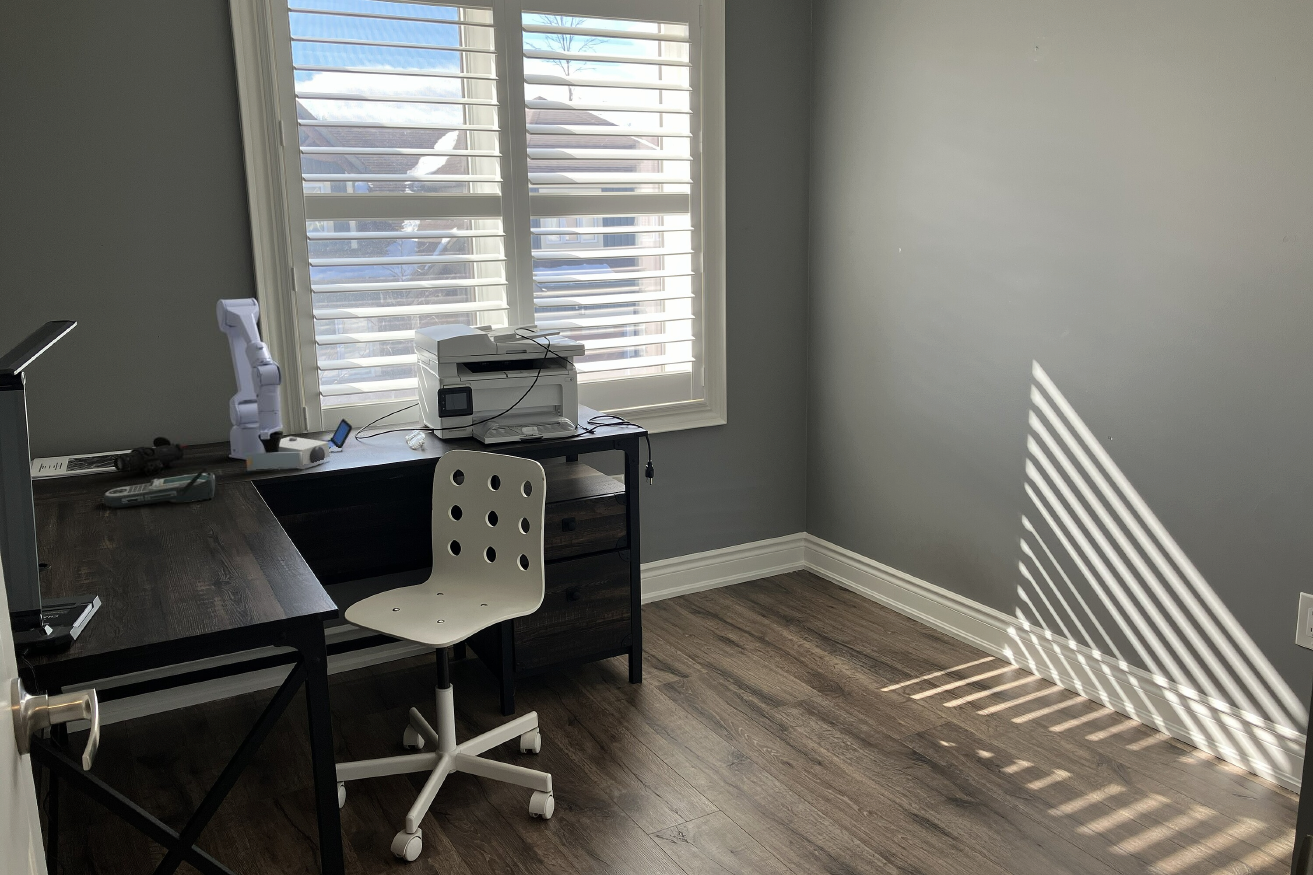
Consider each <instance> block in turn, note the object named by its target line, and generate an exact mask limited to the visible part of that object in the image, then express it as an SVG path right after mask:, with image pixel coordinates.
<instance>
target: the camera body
mask: <svg viewBox="0 0 1313 875" xmlns="http://www.w3.org/2000/svg"><path fill="white" fill-rule="evenodd" d="M263 449H264V453H266V451H265V448H264V446H263ZM279 452H302V461H303V465H304V464H309V463H314V462H317V461H320V460H324V458H327V457H330V458H331V456H330V455H331V453H330V452H329V442H324V441H323V440H316V439H309V438H302V437H298V436H292V435H291V436H287V437H284V438H281V441H280V445H279Z"/></svg>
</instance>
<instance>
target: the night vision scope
mask: <svg viewBox="0 0 1313 875" xmlns="http://www.w3.org/2000/svg"><path fill="white" fill-rule="evenodd" d="M152 444H153V447H152V446H146V447H145V446H144V445H143V446H139V447H136V448H132V449H131V451H130V452H126V453H123V454H121V455H118V456H117V457H114V458H113V467H114V469H115V470H116V471H118V472H121V473H122V472H123V473H124V472H134V471H135V473H136V474H138V473H140V472H145V474H146V475H147V476H152V475H156V474H160V473H162V472H163V471H162V469H164V467H168V466H170V464H172V463H173V462H176V461H181V460H182V459H183V457H184V449H185V450H186V449H187V447H186V446H185V445H183V444H181V443H179V442H177V443H176V444H175V443H174V442H173V443H172V442H171V441H170V440H169V439H168V438H167V437H165V436H157V437H155V438H154V439H153V442H152ZM183 448H184V449H183Z"/></svg>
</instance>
